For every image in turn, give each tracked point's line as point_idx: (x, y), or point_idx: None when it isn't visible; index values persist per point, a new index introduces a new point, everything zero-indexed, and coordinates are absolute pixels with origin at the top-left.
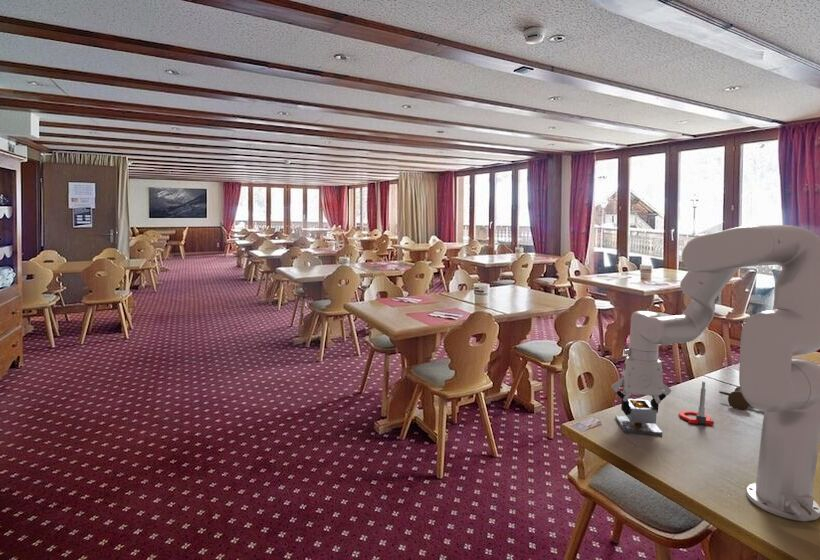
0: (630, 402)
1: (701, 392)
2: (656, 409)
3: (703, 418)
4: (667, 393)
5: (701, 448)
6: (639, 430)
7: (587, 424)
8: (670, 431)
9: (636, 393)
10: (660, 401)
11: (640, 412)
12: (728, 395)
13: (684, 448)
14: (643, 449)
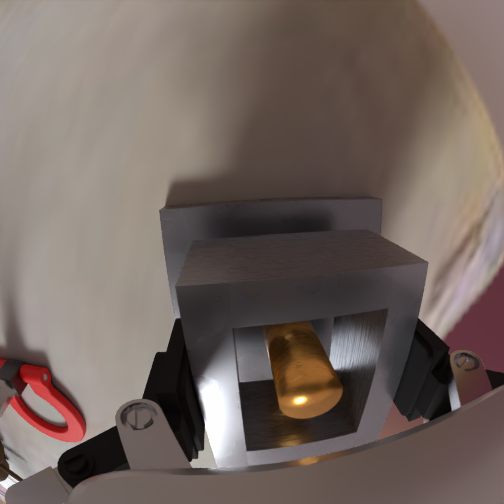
0: (371, 400)
1: None
2: (167, 352)
3: (1, 373)
4: (41, 481)
5: (29, 115)
6: (300, 205)
7: (475, 260)
8: (112, 279)
9: (480, 409)
10: (116, 415)
11: (340, 259)
12: (9, 469)
13: (96, 79)
14: (317, 21)
